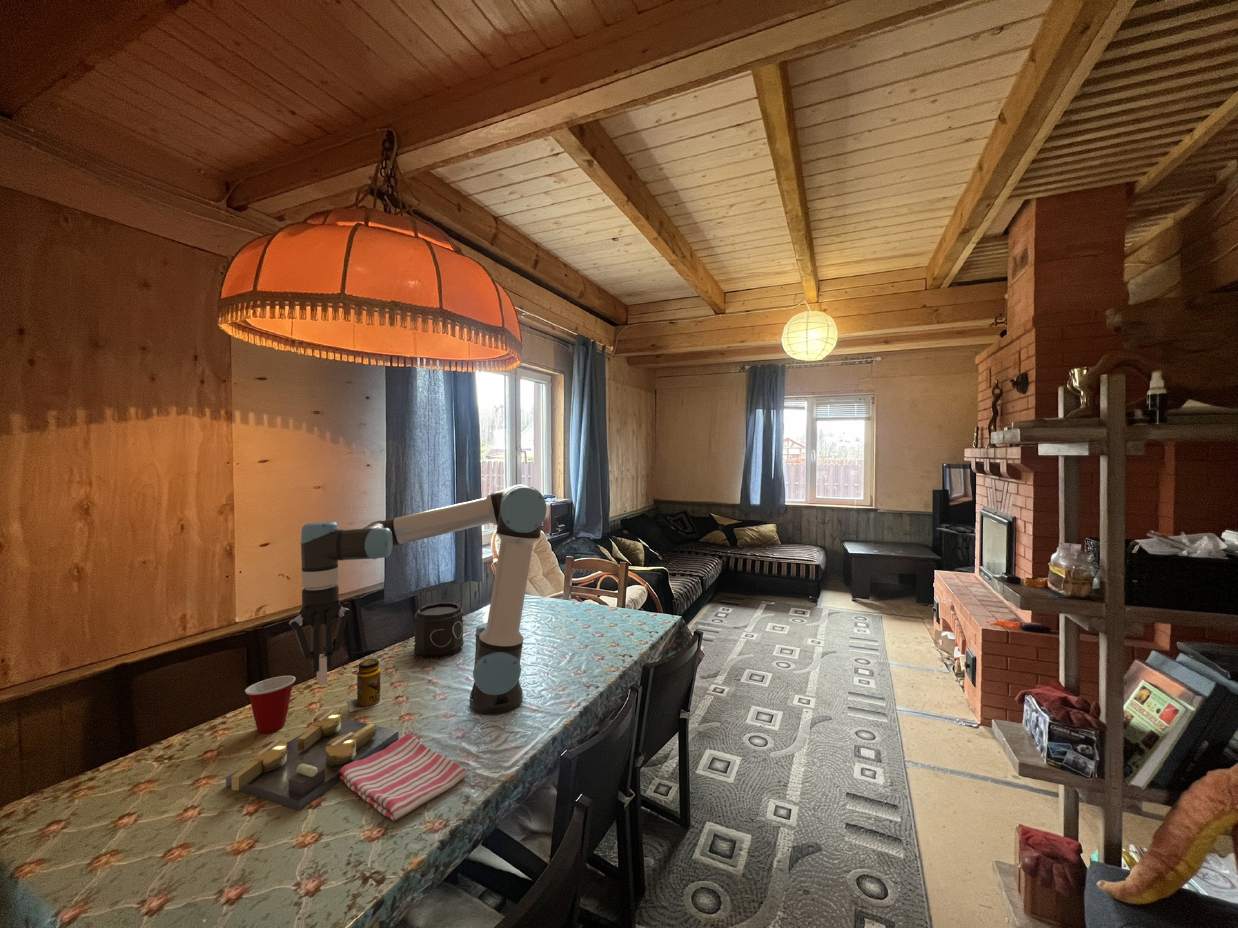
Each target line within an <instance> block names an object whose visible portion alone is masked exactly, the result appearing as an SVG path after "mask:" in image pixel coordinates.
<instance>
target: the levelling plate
mask: <svg viewBox="0 0 1238 928" xmlns="http://www.w3.org/2000/svg"><path fill="white" fill-rule="evenodd" d="M369 724H370V723H366V722H361V721H357V720H353V719H349V718H344V717H341V729H340V730H339V731H338V732H336V733H334V734H332V735H329V736H325V737H321V738H319V739H318V740H317V741H316V742H315V743H313V744H312V745H311V746H310V747H308V748H307V749H306V750H305V751H298V738H299V737H301V736H302V735H303V734H305V733H306V732H307V731H309V730H310V729H309V730H307V731H305V732H303V733H301V734H300V735H298V736H296V737H294V738H292V739H291V740H289V741H286V742H287V761H286V762H285V763H284V764H283V765H282V766H280V767H278V768H276V769H274V770H272V771H268V772H262V773H261V774H259V775H258V776H257V777H255V778H254V779H253V780H252V781H250V782H249V783H248V784H246V785H245V786H244V787H242V788H241V789H240V790H237V791H238V792H242V793H244V794H248V795H250V796H254V797H256V798H260V799H263V800H265V801H269V802H272V803H274V804H277V805H281V806H283V807H287V808H290V809H292V810H295V811H298V812H299V811H301V810H302V809H303V808H305V807H307V806H308V805H309V804H311V803H313V801H315V800H316V799H318V798H319V797H320V796H322V795H323V794H324V793H326V792H327V791H328V790H330V789H332V788H333V787H334V786H336V785H337V784H338V783H340V782H341V781H342V780H341V779H340V776H341V775H342V774H341V773H340V772H339V770H340V769H341V768H342V767H343V766H344V765H347V764H349V763H352V762H355V761H358V760H362V759H365V758H367V757H369V756H371V755H373V754H375V753H377V752H379V751H382V750H384V749H386V748H387V747H388V746H390V745H391V744H393V743H394V742H396V741H398V740H399V730H395V729H391V728H388V727H387V728H386V727H382V726H379V725H375V736H374V737H373V738H371V739H370V740H368V741H367V742H365V743H364V744H362V745H361V746H359V747H358V748H356V755H355V757H354V758H353V759H352V760H350V761H348V762H346V763H344V764H340V765H328V764H327V763H326V744H327V743H328V742H329V741H330V740H332V739H333V738H335V737H338V736H341V735H347V734H349V733H350V732H352V733H356V732H358V731H359V730H361V729H362V728H364V727H365V726H367V725H369ZM300 764H307V765H311V764H312V765H316V766H319V767H323V768H325V780H323V781H322V782H320V783H319V784H318V785H316V786H315V787H313V788H312V789H310V790H309V791H307V792H306V793H305V794H303V795H301V794H298V793H295V792H292V791H289V778H291V777H293V776H294V775H296V774H297V767H298V766H299V765H300ZM244 767H245V766H244ZM244 767H241V768H240V769H238V770H236V771H234V772H233V773H230V774H229V775H227V776H226V777H225V787H227V788H229V787H230V789H232V776H233V775H234V774H236V773H237V772H238V771H240V770H241V769H242V768H244Z"/></svg>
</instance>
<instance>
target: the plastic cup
mask: <svg viewBox="0 0 1238 928" xmlns="http://www.w3.org/2000/svg"><path fill="white" fill-rule="evenodd" d="M295 681H296V677H295V676H293V675H281V676H276V677H271V678H266V679H264V680H261V681H258V682H256V683H253V684H251V685H249V686H248V687H246V689H244V692H245V693H246V695H247V696H248V699H249V702H250V705H251V710H252V714H253V719H254V722H255V725H256V730H257V733H259V734H262V735H266V734H271V733H275V732H277V731H279V730H281V729H282V728H284V727H285V723H286V720H287V714H288V712H289V706H290V702H291V701H290V700H291V696H292V695H291V694H292V691H293V687H294V683H295Z"/></svg>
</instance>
